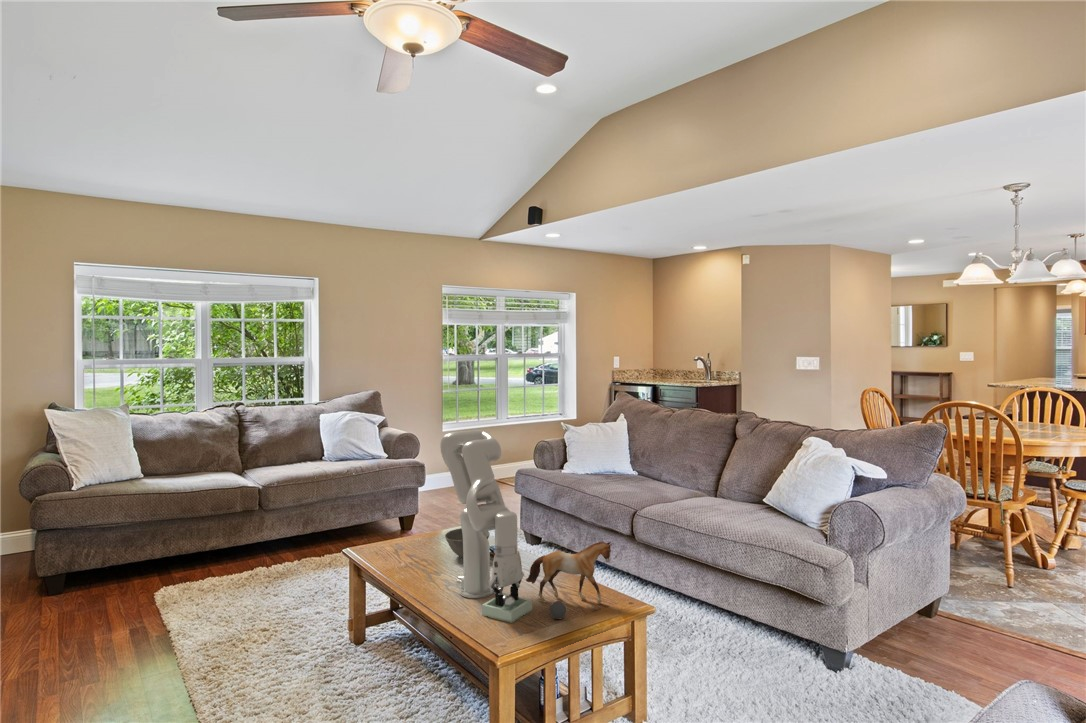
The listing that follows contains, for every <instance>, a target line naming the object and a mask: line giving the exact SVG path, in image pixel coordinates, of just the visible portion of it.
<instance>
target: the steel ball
mask: <svg viewBox="0 0 1086 723" xmlns="http://www.w3.org/2000/svg"><path fill="white" fill-rule="evenodd" d="M514 606H515V599H514V597H513V596H512V595H510V593H505V595H503V607H500V608H502V609H506V610H510V611H511V610H512V609H513V608H514Z"/></svg>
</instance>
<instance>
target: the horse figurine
mask: <svg viewBox="0 0 1086 723" xmlns="http://www.w3.org/2000/svg"><path fill="white" fill-rule="evenodd" d="M612 545H613V543H612V541H608V542H605V541H599V542H598V541H597V542H595V543H591V544H590V545H589V546H587V547H585V548H584V549H582V550H580V551H578V552H577V553H566V552H564V551H561V550H555V551H552V552H550V553H547V554H546V555H542V556H540V557H538V558H536V559H535V560H534V561H533V562H532V564H531V566H530V567H529V568H530V569H529V575H528V577H527V578H525V581H526V582H528V583H531V584H535V583H536V581H537V579H538V578H539V576H540V573H541V565H542V571H543V574H544V576H543V579H542V580H541V581H540V582H539V591H538V592H539V593H538V597H539V601H540V602H541V603H545V602H546V599H545V598H544V596H543V590H544V587H545V585H546V584H547V583H549V585H550V586H551V588H552V591H553V592H554V593H553V595H554V597H555V598H556V599H558V598H559V592H558V589H557V587H556V586H555V584H554V581H553V580H554V578H556V577H557V576H558V575H559V573H560V572H562V573H565V574H569V575H570V574H571V575H580V579H579V586H578V587H579V588H578V593H577V594H578V595H579V596H580V598H579V599H580V600H581V599H582V600H581V601H586V600H587V599H586V597H585V596H584V595H583V593H582V589H583V586H584V582H585V578H586V579H587V580H588V581H589V583H591V584H592V586H593V587H594V588H595V590H596V593H597V600H596V601H597V603H598V604H599V605H601V604H602V594H601V592H600V588H599V585H598V584H597V582H596V579H595V577H594V573H595V570H596V569H595V564H596V562H597V560H598V558H599V556H600V555H602V557H603V558H604V560H605V563H610V562H611V552H612V550H611V546H612Z"/></svg>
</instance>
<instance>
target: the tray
mask: <svg viewBox="0 0 1086 723" xmlns="http://www.w3.org/2000/svg"><path fill="white" fill-rule="evenodd" d="M505 594H506V593H504V592H502V595H505ZM532 610H533V600H532V599H529V598H525V597H523V596H522V597H521V596H518V600H517V601H516V600H515V606H514V608H513V609H512V610H511V611H510V610H506V609H502V608H500V606H498V605H496V604H495V597H493V598H492V599H490V600H488V601H486V602H484V603H483V604H481V616H483V615H485V616H484V617H487V616H488V617H487V618H491V619H495V620H499V621H503V622H506V623H510V624H513V623H514V622H516V621H517V620H519V619H520V618H522V617H523V615H524V616H525V615H527V614H528V613H530V612H531V611H532Z"/></svg>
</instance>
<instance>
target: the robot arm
mask: <svg viewBox="0 0 1086 723" xmlns="http://www.w3.org/2000/svg"><path fill="white" fill-rule="evenodd" d="M439 445H440V454H441V457H442V460H443V461H444V463H445V464H444V465H446V467H447V470H448V471H449V472H450V473H449V474H450V475H451V479H452V482H453V483H452V484H453V487H454V490H455V493H456V496H457V500H458V502H460V503H461V504H462V505H465V508H464V509H463V510H462V511H461V512H460V514H459V522H460V528H462V534H463V558H462V559H463V562H462V564H463V576H461V575H459V576H458V578H457V579H456V581H455V583H456V584H458V585H461V587H460V588H459V594H460V595H461V596H462V597H464V598H467V599H482V598H487V597H490V596H492V595H493V594H495V597H494V598H495V604H496V605H498V606H500V607H503V595H502V593H503V591H504V588H505V587H510V588H509V589H510V590H509V591H510V592H509V594H510V595H512V596H513V597H514V599H515V600H516V601H517V600H518V597H519V588H520V586H521V585H520V584H521V583H522V579H523V578H524V577H525V573H524V571H523V566H522V559H521V554H520V551H518V550H519V549H518V546H519V545H518V544H519V543H518V515H517V513H515V512H514V511H511V510H510V509H509V508H508V507H507V506H506V504H505V502H504V498H503V495H502V492H501V489H500V487H499V484H498V481H497V480H496V479H495V474H494V472H493V471H494V470H493V468H492V466H491V463H493V462H496V461H499V459H501V456H502V448H501V445H500V443H499V442H498V440H497V439H496V438H495V437H493V436H492V435H491V434H489V433H488V432H486V431H484V430H481V429H473V430H461V431H453V432H449V433H446V434H444V435H443V436H442V437H441V438H440V444H439ZM479 503H481V504H479ZM484 531H488V532H490V531H494V549H493V554H494V555H493V560H492V572H490V571H491V568H490V567H491V565H490V564H491V563H490V561H491V560H490V559H491V557H490V555H491V554H490V552H491V551H490V541H489V538H488V539H487V538H486V537H485V536H484V534H483V532H484ZM491 575H492V576H491ZM491 577H492V578H491Z"/></svg>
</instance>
